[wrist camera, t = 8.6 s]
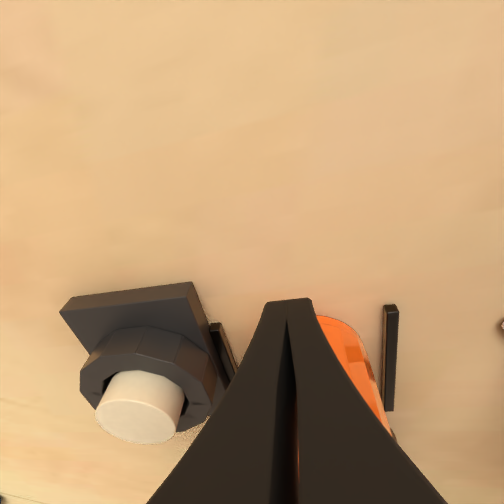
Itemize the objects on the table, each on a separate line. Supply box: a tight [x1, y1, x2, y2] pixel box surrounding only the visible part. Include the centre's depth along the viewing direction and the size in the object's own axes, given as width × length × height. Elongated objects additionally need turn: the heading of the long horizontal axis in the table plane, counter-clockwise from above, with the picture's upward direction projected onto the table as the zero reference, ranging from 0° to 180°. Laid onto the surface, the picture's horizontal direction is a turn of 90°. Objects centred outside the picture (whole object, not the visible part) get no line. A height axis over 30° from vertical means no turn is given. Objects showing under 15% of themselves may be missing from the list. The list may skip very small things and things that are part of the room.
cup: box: [298, 315, 392, 477], centre depth 15 cm, size 6×6×7 cm
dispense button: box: [95, 370, 184, 444], centre depth 16 cm, size 4×4×2 cm
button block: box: [59, 282, 230, 432], centre depth 17 cm, size 10×7×3 cm
